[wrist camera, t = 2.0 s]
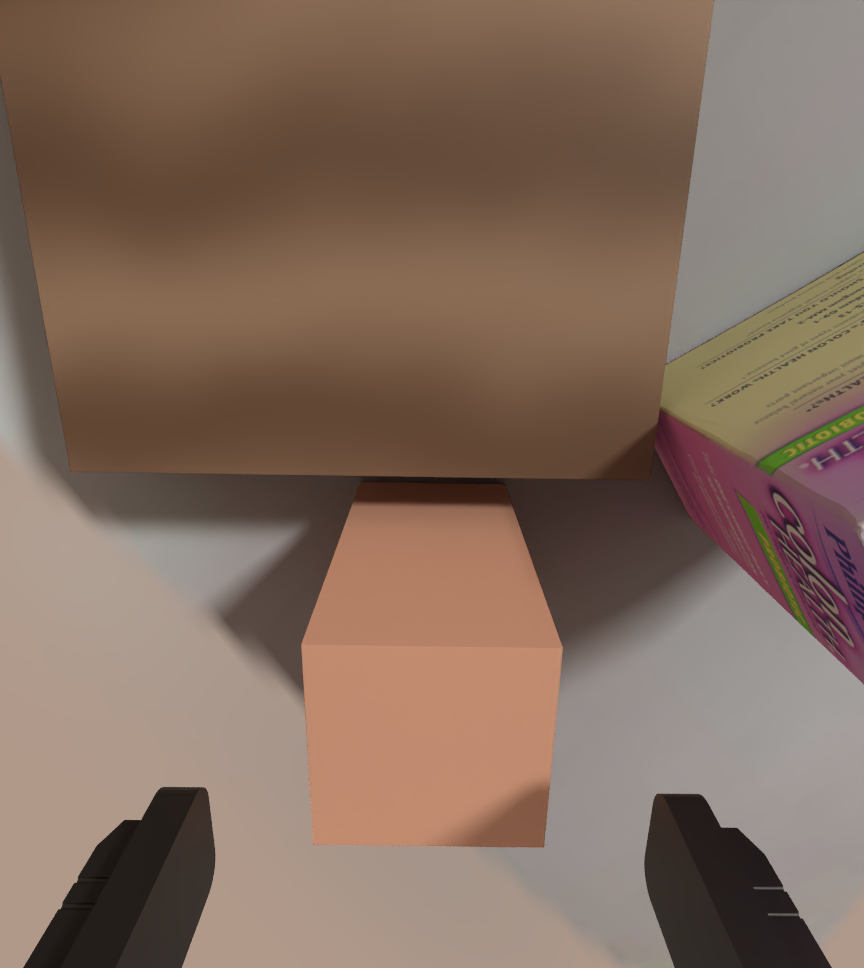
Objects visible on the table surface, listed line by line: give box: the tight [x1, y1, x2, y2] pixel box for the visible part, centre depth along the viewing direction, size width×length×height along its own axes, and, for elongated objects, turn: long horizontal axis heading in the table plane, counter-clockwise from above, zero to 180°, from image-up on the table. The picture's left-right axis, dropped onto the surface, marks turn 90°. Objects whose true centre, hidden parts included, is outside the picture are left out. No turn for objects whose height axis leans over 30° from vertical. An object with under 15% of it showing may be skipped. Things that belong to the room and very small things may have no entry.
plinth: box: [0, 0, 714, 480], centre depth 16 cm, size 16×16×4 cm
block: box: [301, 482, 563, 847], centre depth 17 cm, size 5×5×10 cm
